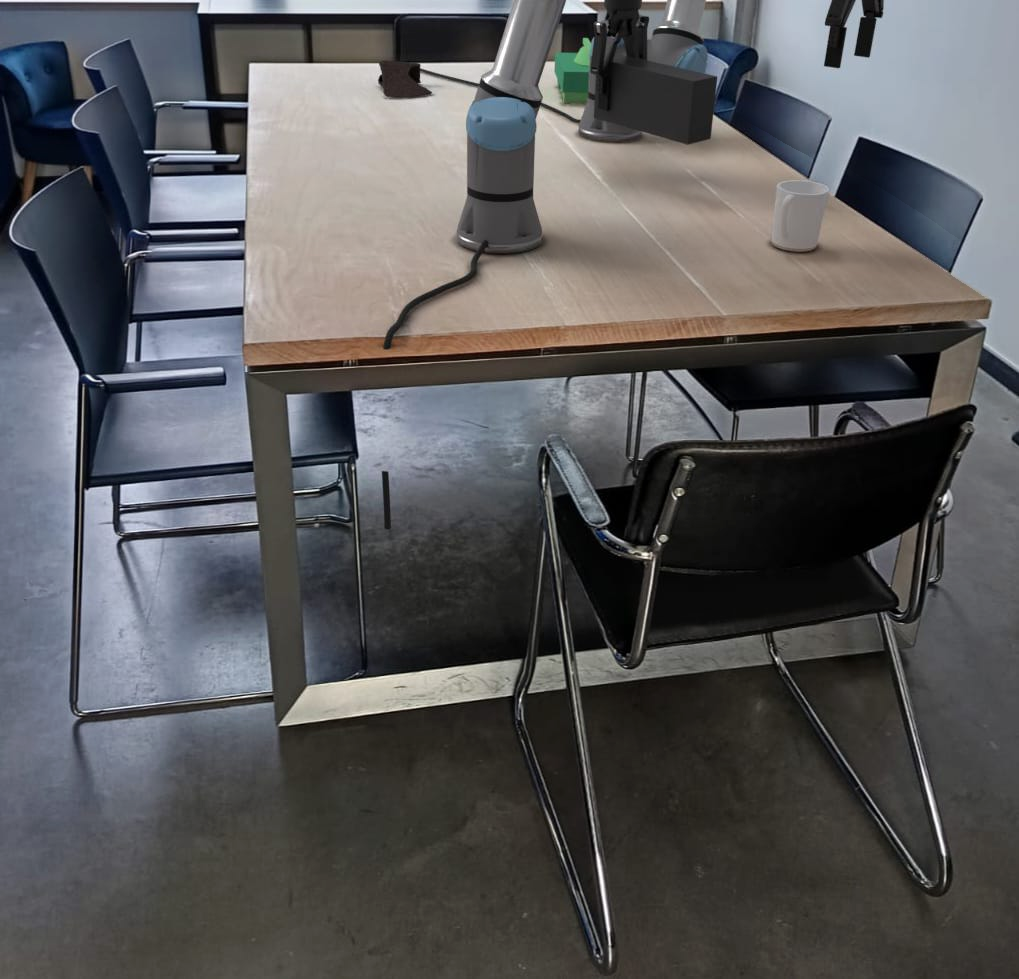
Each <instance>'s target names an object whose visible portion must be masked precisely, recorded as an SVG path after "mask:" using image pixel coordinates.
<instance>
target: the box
mask: <svg viewBox="0 0 1019 979" xmlns="http://www.w3.org/2000/svg"><path fill="white" fill-rule="evenodd" d="M603 70H604V69H603ZM608 77H611V94H610V110H608V111H606V110H603V109H599V108H598V96H599V93H598V92H597V83H598V77H597V75H596V83H595V102H594V118H596V119H600V120H603V121H607V122H610V123H614V124H617V125H621V126H624V127H627V128H631V129H634V130H638V131H641V132H642V133H646V134H649V135H652V136H655V137H659V138H663V139H666V140H669V141H673V142H677V143H680V144H683V145H687V146H688V145H692V144H697V143H700V142H705V141H707V140H711V139H712V131H713V130H712V129H713V122H714V121H713V120H714V112H715V103H716V102H715V101H716V94H717V84H718V75H712V74H710V73H709V74H708V73H705V74H704V73H700V72H696V71H691V70H687V69H683V68H678V67H674V66H669V65H665V64H661V63H656V62H652V61H648V60H643V59H639V58H634V57H629V56H626V55H621V54H619V55H614V59H613V62H612V65H611V69H610V72H609V76H608Z"/></svg>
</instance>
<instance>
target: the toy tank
mask: <svg viewBox="0 0 1019 979" xmlns="http://www.w3.org/2000/svg"><path fill="white" fill-rule="evenodd" d="M591 42H592V41H590V39H589V37H583V38H582V45H583V46H581V47H580V48H579V50H578V52H554V74H555V76H556V80H557V87H558V88H560V92H561V94H562V103H563V104H587V101H588V86H589V64H590V57H589V55H590V51H591Z"/></svg>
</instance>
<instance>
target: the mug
mask: <svg viewBox="0 0 1019 979" xmlns="http://www.w3.org/2000/svg"><path fill="white" fill-rule="evenodd" d="M829 192H830V188H829V187H828V186H827V185H825V184H823V183H819V182H815V181H811V180H802V179H801V180H800V179H791V180H789V179H788V180H783V181H780V182H778V183H777V185H776V192H775V202H774V212H773V220H772V221H773V223H772V230H771V231H772V232H771V241H770V242H771V244H772V245H773V246H774V247H775V248H778V249H779V250H783V251H788V252H796V253H797V252H798V253H799V252H800V253H802V252H811V251H813V250H815V249H816V248H817V246H818V242H819V237H820V233H821V229H822V224H823V220H824V215H825V212H826V206H827V202H828V197H829Z"/></svg>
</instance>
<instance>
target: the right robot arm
mask: <svg viewBox="0 0 1019 979" xmlns="http://www.w3.org/2000/svg"><path fill="white" fill-rule="evenodd" d="M706 2H707V0H666V4H665V9H664V12H663V17H662V21H661V23H660V24H659V25H657V26H655V27H654V28H653V31H652V35H651V39H648V28H649V24H650V17H649V16H648V15H642V14H640V12H639V10H640V9H641V8H642V6H643V0H604V1H603V6H604V8H605V10H606V14H605V17H604V19H603V20H601V21H597V20H596V21H594V23H593V32H594V36H593V37H592V39H591V41H590V42H591V51H590V55H589V57H590V64H589V86H588V101H587V103H585V107H584V110H583V112H582V115H581V118H580V119H578V118H575V117H573V116H571V115H569V114H568V113H566V112H564V111H561V110H560V109H558V108H555V107H553V106H551V105H549V104H546V103H544V102H543V101H542V102H541V105H540V107H542V108H545V109H547V110H550V111H551V112H554V113H556V114H557V115H560V116H562V117H565V118H566V119H568V120H569V121H571V122H573V123H577V124H578V132H577V133H578V135H579V136H580V137H581V138H583V139H587V140H591V141H596V142H604V143H626V142H632V141H637V140H639V139H641V138H642V136H643V132H641V131H638V130H634V129H631V128H627V127H624V126H621V125H617V124H614V123H610V122H607V121H603V120H600V119H596V118H594V102H595V83H596V75H597V77H598V83H597V92H598V93H599V96H598V108H599V109H603V110H606V111H608V110H610V94H611V77H608V76H609V72H610V69H611V65H612V62H613V59H614V55H619V54H621V55H626V56H629V57H634V58H639V59H643V60H648V61H652V62H656V63H661V64H665V65H669V66H674V67H678V68H683V69H687V70H691V71H696V72H700V73H704V74H706V70H707V65H708V63H707V61H708V58H709V52H708V49H707V47H706V46H705V45H703V44H704V38H703V35H702V34H701V33H700V28H701V23H702V19H703V15H704V12H705V7H706V4H707V3H706ZM603 69H604V70H603ZM420 73H424V74H427V75H431V76H435V77H439V78H442V79H445V80H450V81H454V82H458V83H461V84H466V85H470V86H474V87H478V86H479V82H474V81H470V80H467V79H461V78H458V77H453V76H449V75H446V74H443V73H442V74H441V73H438V72H434V71H431V70H428V69H423V68H421V67H420Z"/></svg>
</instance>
